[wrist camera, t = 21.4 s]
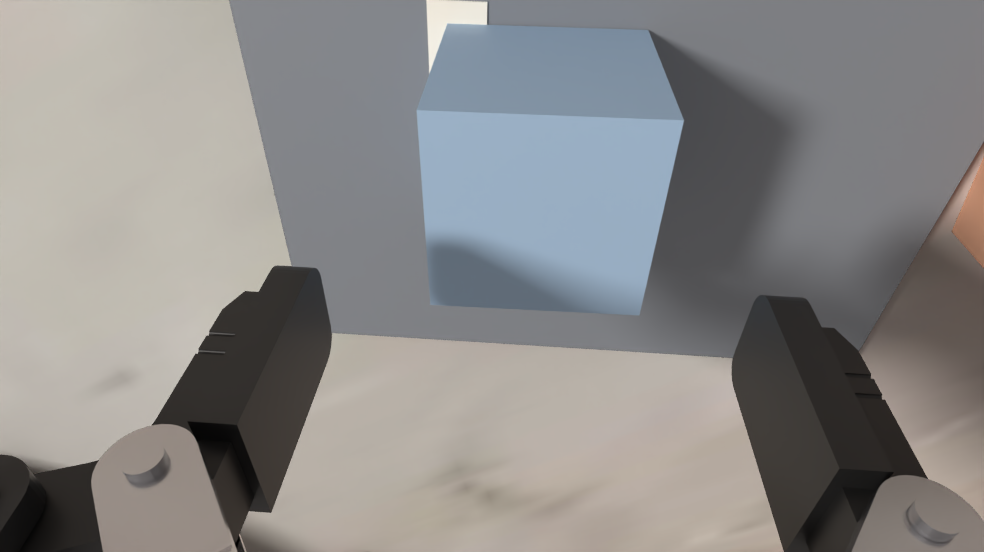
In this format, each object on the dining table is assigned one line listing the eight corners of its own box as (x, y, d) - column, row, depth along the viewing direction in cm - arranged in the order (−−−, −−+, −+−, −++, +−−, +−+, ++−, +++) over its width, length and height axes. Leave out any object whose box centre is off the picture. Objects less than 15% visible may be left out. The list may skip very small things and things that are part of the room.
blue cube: (648, 29, 15) (684, 120, 11) (619, 200, 18) (639, 315, 15) (447, 23, 15) (416, 110, 12) (453, 193, 19) (430, 305, 15)
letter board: (1212, -317, 12) (1262, -323, 11) (840, 345, 23) (851, 366, 22) (170, -347, 12) (143, -354, 11) (314, 313, 24) (306, 332, 23)
